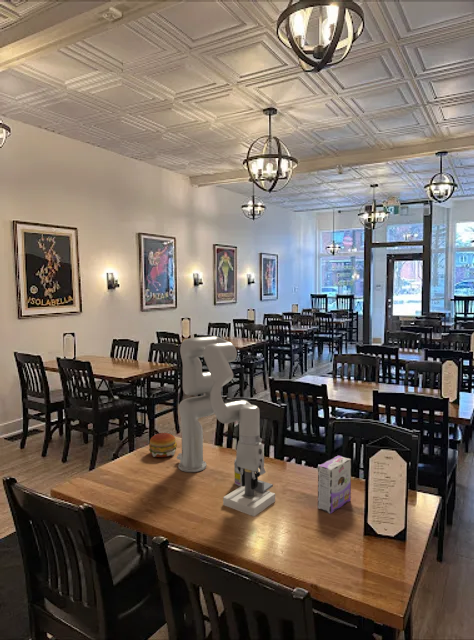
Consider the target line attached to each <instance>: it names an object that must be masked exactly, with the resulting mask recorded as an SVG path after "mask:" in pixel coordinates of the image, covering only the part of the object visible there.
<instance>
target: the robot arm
mask: <svg viewBox="0 0 474 640" xmlns="http://www.w3.org/2000/svg"><path fill="white" fill-rule="evenodd" d="M179 351H180V356H181V357H180V358H181V362H182V391H183V393H184V394H185V395H186V396H193V397H187V398H185V399H183V400H181V401H180V402H179V405H178V412H179V416H180V425H181V426H180V427H181V429H180V430H181V452H179V453H178V454H177V456H176V459H177V460H179V463H178V470H180V471H182V472H186V473H196V472H200V471H203V470H205V469H206V468H207V462H206V461H204V449H203V448H204V437H203V436H204V432H203V430H204V428H203V426H202V424H201V422H200V421H199V419H201V418H205V417H210V416H212V415H215V417H216V419H217V421H219V422H220V423H222V424H230V423H234V422H238V425H239V426H238V427H239V428H238V430H239V432H238V433H239V435H238V437H239V440H238V441H237V446H236V455H235V456H236V457H235V459H236V462H235V463H234V462H233V463H234V464H233V466H234V465H235V466H236V467H237V468H238V470H239V472H240V475H241V476H242V486H243V487H244V486H245V469H247V470H251V471H252V479H251V489H252V490H253V489H255V488H256V487H257V486H258V480H259V477H260V476H261V475H264V474H266V468H265V455H264V448H263V444H262V441H263V438H261V437H260V436H261V434H260V427H261V426H260V419H261V418H260V408H259V407H258V405H255V404H251V403H250V402H249V401H248V400H245V399H240V400H235V401H228V402H224V400H223V399H224V398H223V397H222V392H221V391H222V387H225V385H227V384H229V382H231V381H232V380H233V378H234V372H233V370H232V368H231V366H230V365H231V364H229V363H231V362H234V361H235V360H236V359H237V357H238V356H237V355H238V354H237V353H238V352H237V351H238V350H237V349H236V347H235V345H234V344H233V343H232V342H230V341H228V340H226V339H224V338H221V337H220V336H216V335H214V336H213V335H212V336H199V337H198V336H197V337H189V338H187V339H184V340H183V341H182V342H181V344H180V348H179ZM201 357H202V358H203V359H204V362H205V365H206V366H207V369H208V371H203V364H202V361H201V360H200V358H201ZM202 394H203V395H202ZM195 395H197V396H195Z"/></svg>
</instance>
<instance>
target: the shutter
mask: <svg viewBox="0 0 474 640" xmlns="http://www.w3.org/2000/svg"><path fill="white" fill-rule="evenodd" d="M273 487H274V484H273V483H269V482H266V481H263V480H260V479H258V486H257V487H256V488H255V489H254V490H255V491H258V492H261V493H264V492H265V491H269V490H270V489H272V488H273Z"/></svg>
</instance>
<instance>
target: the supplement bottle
mask: <svg viewBox="0 0 474 640" xmlns="http://www.w3.org/2000/svg"><path fill="white" fill-rule="evenodd" d="M235 462H236V458H235V459H234V462H233V463H235ZM233 466H234V471H233V472H234V473H233V474H234V484H235V485H236V486H238V487H241V486H242V476H241V475H240V472H239V470H238V468H237V467H236V466H235V465H234V464H233Z"/></svg>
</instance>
